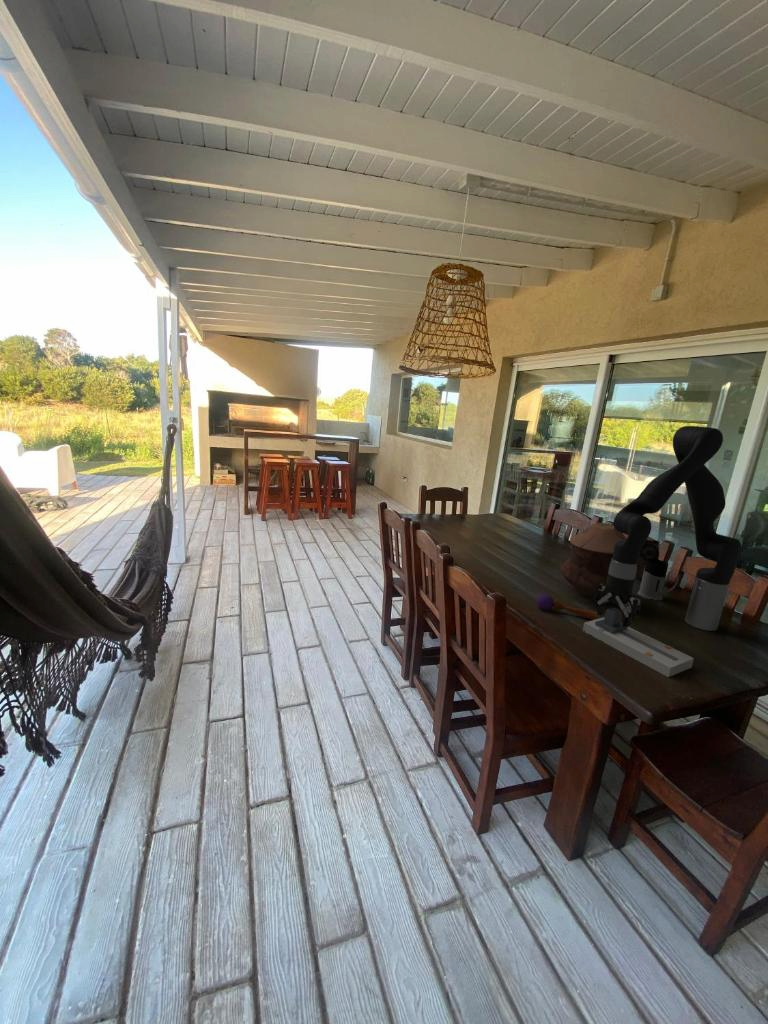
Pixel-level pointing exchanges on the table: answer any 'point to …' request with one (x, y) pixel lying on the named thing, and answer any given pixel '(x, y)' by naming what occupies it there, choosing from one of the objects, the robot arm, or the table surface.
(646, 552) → the owl
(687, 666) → the slider console
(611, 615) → the fader tab
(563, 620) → the table surface
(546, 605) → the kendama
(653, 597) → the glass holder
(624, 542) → the robot arm
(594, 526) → the pottery vessel
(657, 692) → the table surface
